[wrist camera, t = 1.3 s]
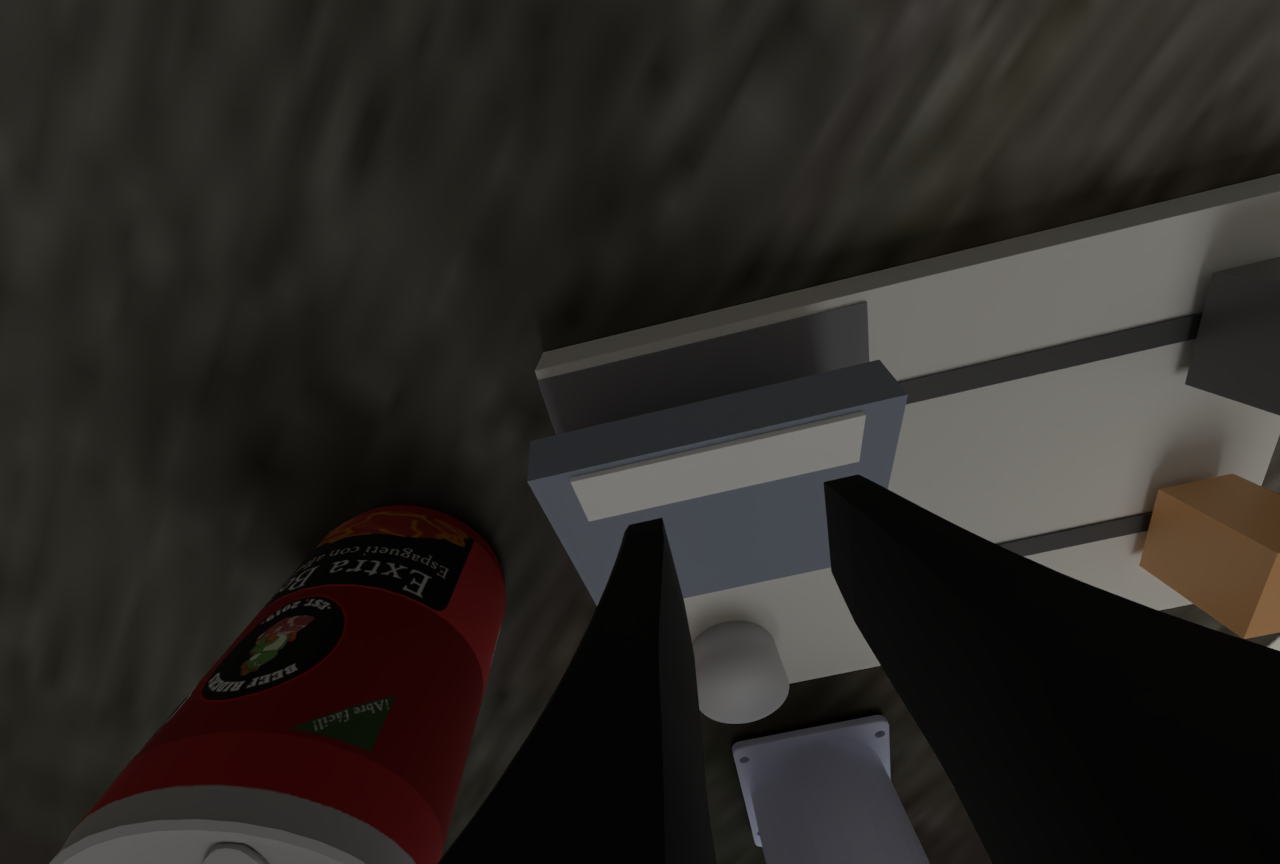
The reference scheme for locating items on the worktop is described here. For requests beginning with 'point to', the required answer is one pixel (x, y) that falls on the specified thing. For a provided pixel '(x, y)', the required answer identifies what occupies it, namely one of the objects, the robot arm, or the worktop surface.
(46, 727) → the worktop surface
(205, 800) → the canned food
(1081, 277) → the panel
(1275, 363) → the black fader knob
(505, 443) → the worktop surface
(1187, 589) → the orange fader knob
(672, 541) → the rocker
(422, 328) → the worktop surface
